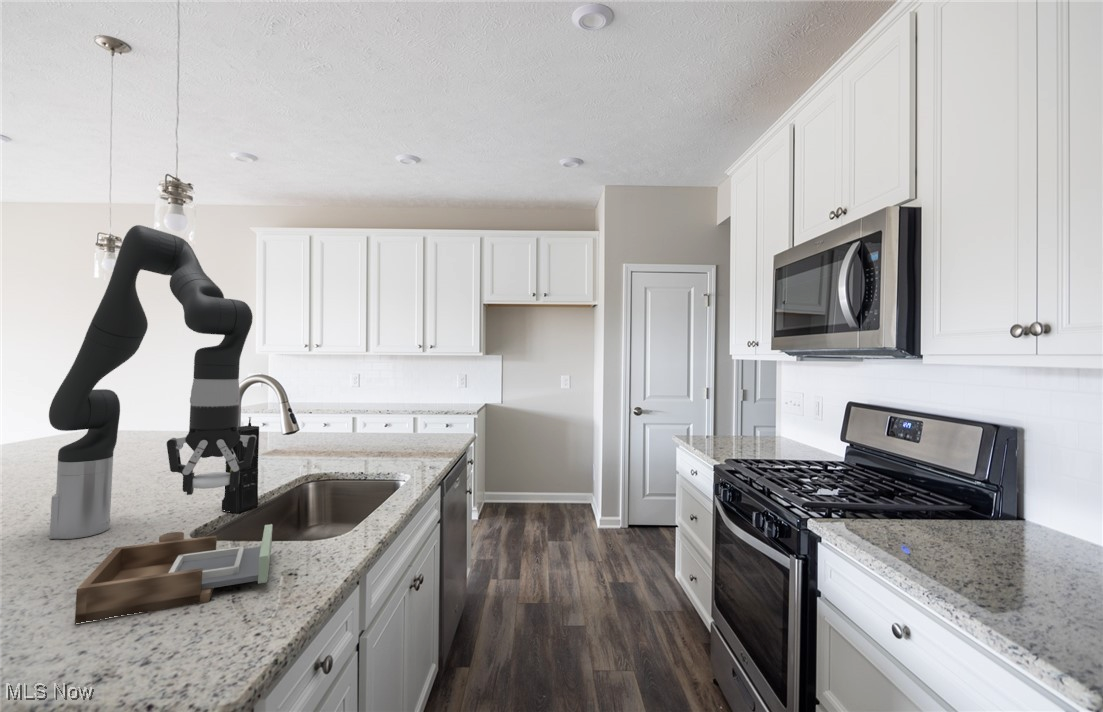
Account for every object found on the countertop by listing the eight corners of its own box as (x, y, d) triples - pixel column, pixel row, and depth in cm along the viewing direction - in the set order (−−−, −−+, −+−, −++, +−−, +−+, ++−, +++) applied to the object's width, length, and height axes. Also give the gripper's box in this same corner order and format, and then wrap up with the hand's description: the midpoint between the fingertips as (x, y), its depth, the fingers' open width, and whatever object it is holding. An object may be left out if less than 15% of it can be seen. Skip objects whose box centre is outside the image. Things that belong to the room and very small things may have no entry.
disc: (188, 489, 84) (189, 480, 84) (195, 481, 90) (195, 473, 90) (229, 486, 87) (229, 478, 87) (232, 479, 92) (233, 471, 92)
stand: (155, 565, 94) (156, 540, 94) (160, 557, 97) (161, 533, 97) (180, 561, 96) (181, 537, 96) (184, 554, 99) (185, 530, 99)
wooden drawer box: (74, 624, 73) (76, 589, 73) (114, 576, 88) (115, 547, 89) (209, 601, 81) (210, 569, 81) (223, 561, 97) (224, 534, 97)
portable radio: (236, 515, 124) (240, 421, 125) (217, 513, 126) (221, 419, 126) (260, 506, 132) (264, 417, 133) (241, 504, 133) (245, 416, 134)
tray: (154, 601, 77) (156, 571, 77) (178, 559, 93) (179, 534, 93) (267, 582, 85) (268, 555, 85) (271, 547, 101) (272, 524, 101)
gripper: (261, 400, 95) (257, 483, 95) (172, 401, 88) (167, 490, 88) (258, 404, 89) (254, 493, 88) (162, 405, 82) (157, 501, 82)
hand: (211, 491), depth 88 cm, fingers closed on disc, 6 cm apart
